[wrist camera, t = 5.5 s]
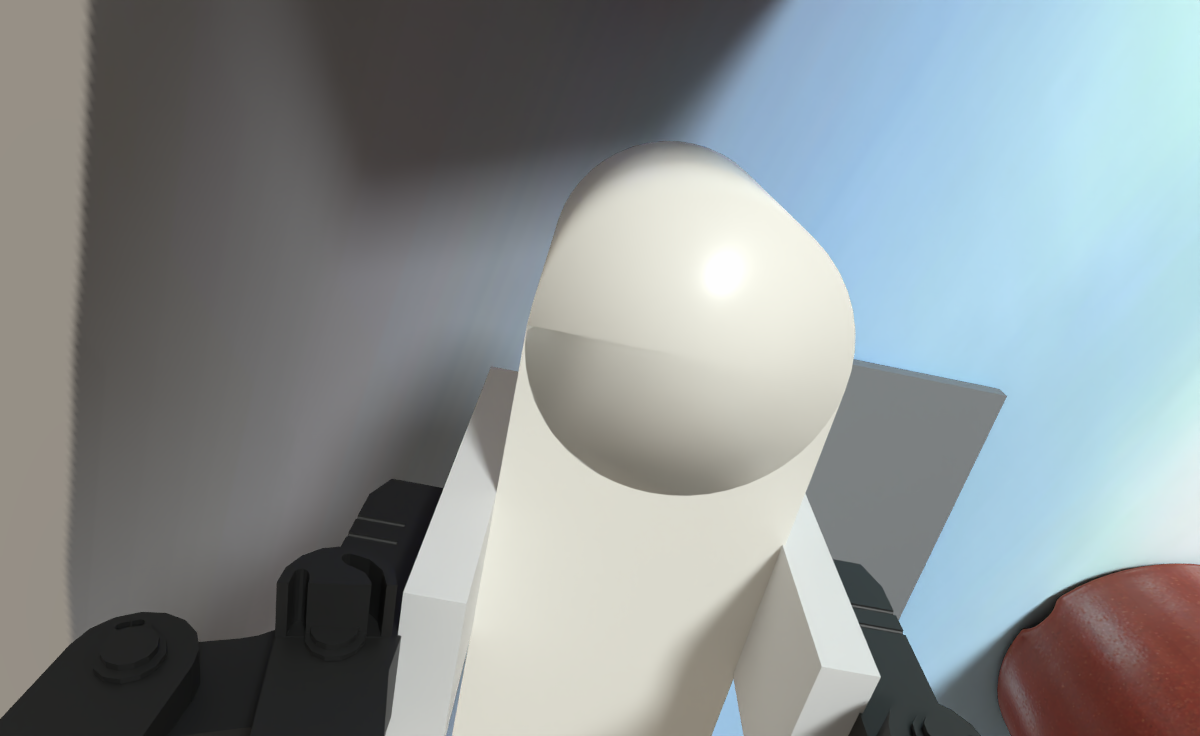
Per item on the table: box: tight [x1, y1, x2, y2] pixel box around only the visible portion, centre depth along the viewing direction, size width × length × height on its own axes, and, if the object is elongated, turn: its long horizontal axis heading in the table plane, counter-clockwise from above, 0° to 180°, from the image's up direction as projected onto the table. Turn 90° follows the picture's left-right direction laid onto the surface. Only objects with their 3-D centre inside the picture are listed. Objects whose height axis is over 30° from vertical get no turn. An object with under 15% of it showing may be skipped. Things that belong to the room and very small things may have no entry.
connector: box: [452, 141, 855, 736], centre depth 14 cm, size 13×4×5 cm, turn 168°
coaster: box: [805, 359, 1007, 620], centre depth 29 cm, size 12×12×1 cm
